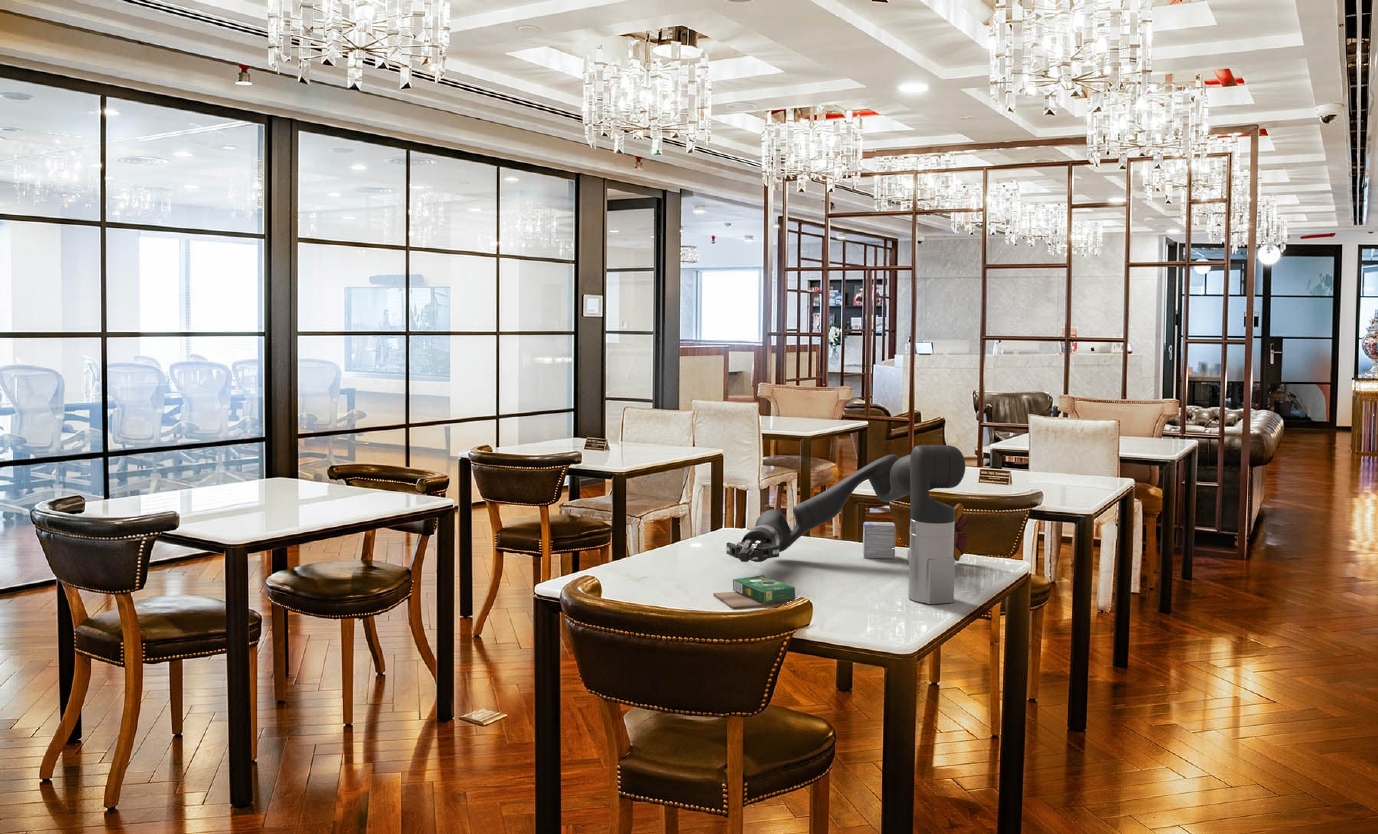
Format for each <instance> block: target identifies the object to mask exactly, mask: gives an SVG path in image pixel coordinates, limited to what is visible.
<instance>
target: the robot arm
mask: <svg viewBox="0 0 1378 834" xmlns="http://www.w3.org/2000/svg"><path fill="white" fill-rule="evenodd" d="M910 452H911V454H908V455H904V456H902V457H899V455H896V454H895V453H893V454H887V455H885V456H882V457H880V458H878V459H875V460H874V461H872V462H870V463H869V464H867V465H865V466H863V467H861V468H860V469H858V470H856V471H855V472H854V473H852V474H849V475H847V477H845V478H844V479H842V480H840V481H839V482H837V483H836V484H834V485H833V486H831V487H829V488H828V489H826V490H824V491H823V492H820V493H819V494H816V495H814V496H813V497H810V498H808V499H806V500H804V501H802V502H800V503H797V504H796V505H794V507H793V508H792V513H793V516H794V517H793V518H794V520H795V525H794V528H793V529H791V527H790V526H789V523H788V521H787V520H786V516H785V515H784V514H783V513H782V511H780V510H779V509H775V508H774V509H769V510H766V511H764V512H763V513H762V514H760V515H759V517H758V518H757V519H756V522H755V524H754V525H755V527H753V528H751V529H750V530H749V531H748V532H747V533H746V534H744V536H743V538H742V540H741V541H739V542H737V543H732V542H729V541H728V542H725V543H726V546H725V547H726V548H725V549H726V553H725V554H727V555H728V556H730V557H733V558H735V559H738V560H740V562H741V563H748V562H749V561H750V562H754V563H761V562H764V561H767V560H768V559H773V558H779V557H780V553H781V552H782V553H783V552H784V551H786V550H788V548H789V547H791V546H792V545H793V544H794V543H795V542H797V540H799V538H801V537H802V536H803V535H805V534H806V533H807V532H810V531H811V530H813V529H815V528H818V526H821V525H823V524H825V523H827V522H829V521H831V520H832V519H834V518H835V517H836V516H837V515H838V514H839V513H840V512H841V510H842V509H843V507H844V506H845V505H846V503H847V501H848V500H849V498H850V497H851V495H852V493H853V492H854V491H855V490H856V488H858V486H859V485H861V483H863V482H865V481H866V480H868V481H869V483H870V485H871V487H872V489H873V491H874V494H875V495H876V497H877V498H878V499H879V501H881V502H884V503H890V502H891V503H892V502H893V501H894V502H895V501H898V500H899V499H902V498H904V497H906V496H907V497H908V496H909V497H910V499H909V500H910V501H909V502H910V515H911V518H910V525H909V527H910V534H909V550H910V555H909V560H908V562H909V564H908V594H907V595H908V598H909V600H912V601H915V602H918V603H925V604H927V605H936V604H948V603H949V604H951V603H955V576H956V573H955V571H956V561H955V559H954V558H953V552H954V536H955V530H954V522H955V521H954V520H955V511H954V507H953V506H951V505H949V504H947V503H943V502H941V501H938V500H936V499H934V498H933V497H932V496H931V495H930V491H931V490H934V489H935V490H936V489H952V488H955V487H957V486H958V485H959V484H960V483H961V482H962V480H963V479H964V477H965V473H966V461H965V460H966V459H965V457H964V455H963V453H962V451H961V450H960V449H959V448H958V447H955V446H954V445H948V444H943V445H942V444H938V445H937V444H923V445H922V444H921V445H920V444H919V445H918V444H917V445H915V446H914V447H913V449H912V450H911V451H910Z"/></svg>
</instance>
